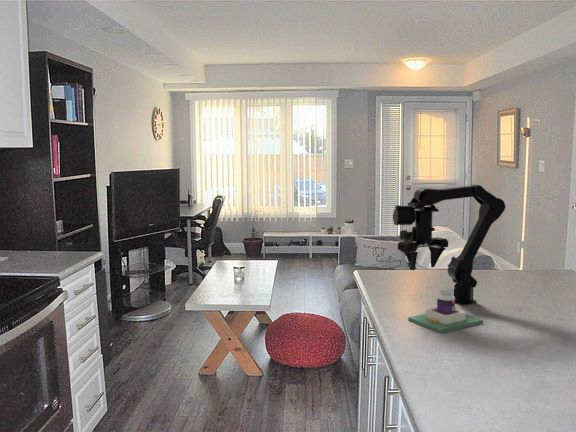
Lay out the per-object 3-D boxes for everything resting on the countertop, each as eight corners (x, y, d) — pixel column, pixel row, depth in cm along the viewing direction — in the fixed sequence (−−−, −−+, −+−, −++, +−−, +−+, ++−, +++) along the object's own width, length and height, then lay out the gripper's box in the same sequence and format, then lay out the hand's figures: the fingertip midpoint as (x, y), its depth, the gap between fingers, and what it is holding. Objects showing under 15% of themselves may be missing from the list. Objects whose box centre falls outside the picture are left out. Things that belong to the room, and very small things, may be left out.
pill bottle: (455, 321, 168) (456, 291, 167) (437, 320, 169) (438, 290, 168) (453, 316, 174) (454, 286, 172) (436, 315, 175) (436, 285, 173)
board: (449, 311, 182) (449, 301, 181) (482, 323, 170) (483, 312, 169) (408, 320, 173) (408, 309, 173) (440, 333, 161) (440, 321, 161)
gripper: (427, 220, 200) (426, 261, 202) (387, 223, 191) (386, 267, 193) (449, 223, 190) (448, 267, 192) (409, 227, 181) (408, 273, 183)
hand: (422, 268), depth 190 cm, fingers open, 9 cm apart
